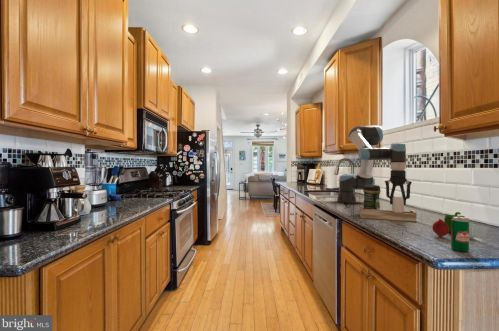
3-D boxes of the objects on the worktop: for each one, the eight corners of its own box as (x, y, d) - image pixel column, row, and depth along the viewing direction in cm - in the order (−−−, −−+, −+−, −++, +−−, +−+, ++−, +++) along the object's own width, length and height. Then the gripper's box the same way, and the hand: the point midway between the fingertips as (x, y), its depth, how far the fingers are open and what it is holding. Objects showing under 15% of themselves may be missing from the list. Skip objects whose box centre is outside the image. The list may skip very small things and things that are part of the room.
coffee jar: (360, 212, 161) (361, 184, 161) (368, 211, 165) (368, 183, 165) (374, 215, 153) (374, 185, 153) (382, 214, 157) (382, 184, 157)
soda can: (456, 252, 89) (457, 218, 89) (447, 247, 94) (448, 215, 94) (472, 253, 88) (473, 219, 88) (462, 248, 93) (463, 216, 93)
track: (359, 214, 155) (359, 206, 155) (411, 218, 146) (411, 209, 146) (361, 218, 146) (361, 209, 146) (417, 221, 136) (417, 212, 136)
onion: (451, 237, 107) (451, 219, 107) (445, 239, 104) (445, 220, 104) (436, 234, 112) (436, 216, 112) (429, 236, 109) (429, 217, 109)
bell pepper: (442, 229, 120) (443, 209, 120) (465, 232, 116) (465, 210, 116) (445, 233, 113) (445, 211, 113) (469, 236, 109) (469, 213, 109)
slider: (392, 213, 147) (393, 195, 147) (400, 214, 145) (400, 196, 145) (394, 214, 143) (394, 196, 143) (402, 215, 141) (402, 197, 141)
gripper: (382, 169, 143) (382, 210, 143) (417, 170, 137) (417, 212, 137) (380, 169, 150) (380, 208, 150) (413, 170, 144) (413, 210, 144)
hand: (397, 210), depth 144 cm, fingers closed on slider, 4 cm apart
